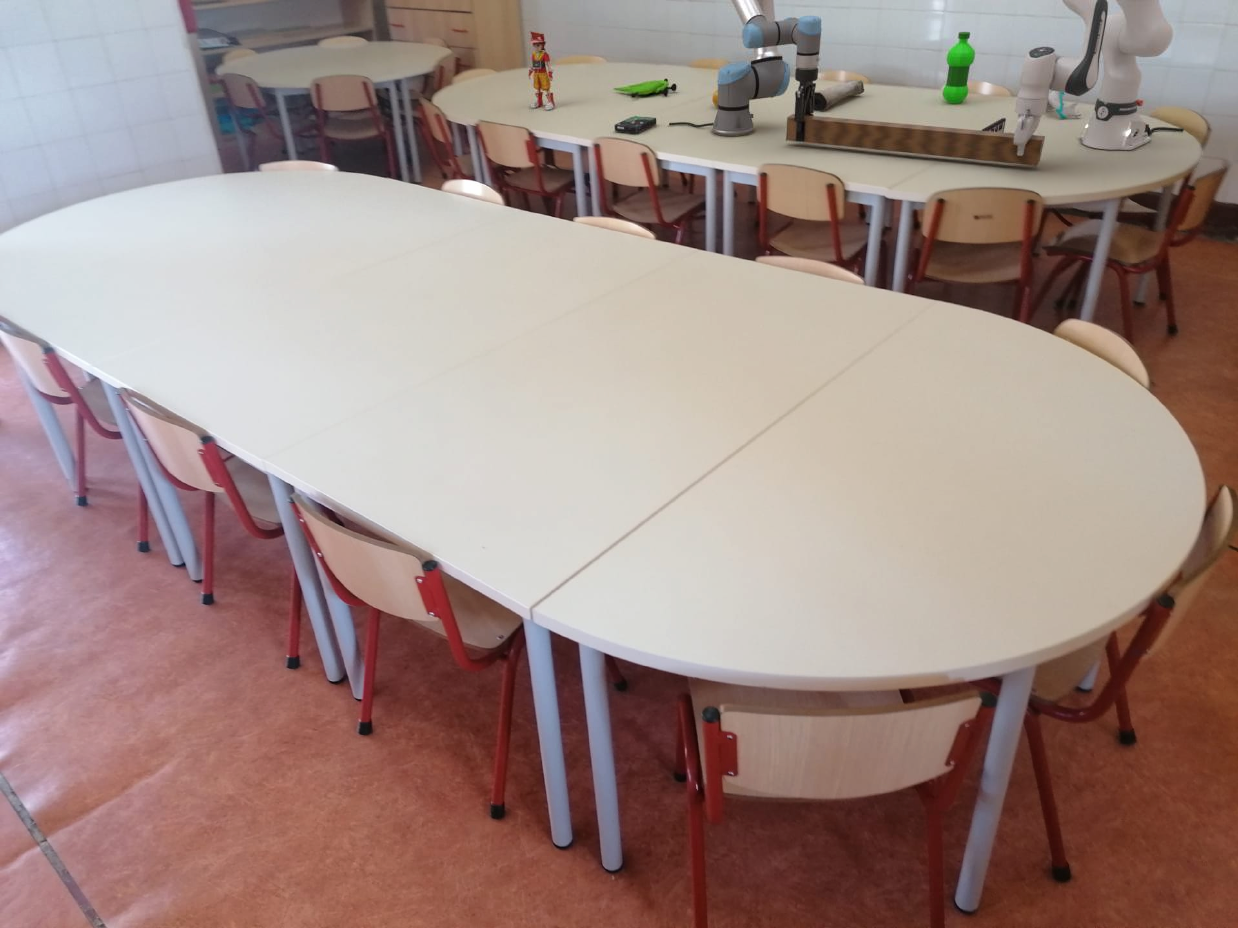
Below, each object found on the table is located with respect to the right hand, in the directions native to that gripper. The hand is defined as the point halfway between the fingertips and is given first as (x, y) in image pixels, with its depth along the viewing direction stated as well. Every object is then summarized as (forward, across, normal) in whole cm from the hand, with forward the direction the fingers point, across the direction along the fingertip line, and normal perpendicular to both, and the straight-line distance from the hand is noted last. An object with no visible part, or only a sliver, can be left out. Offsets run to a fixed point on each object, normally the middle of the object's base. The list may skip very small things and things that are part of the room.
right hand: (1022, 152), depth 281 cm
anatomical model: (+6, +70, 0) cm, 70 cm away
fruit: (+4, +41, +123) cm, 130 cm away
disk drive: (+4, 0, +141) cm, 141 cm away
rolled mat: (+5, +62, +83) cm, 104 cm away
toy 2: (+4, +54, +169) cm, 178 cm away
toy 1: (+4, +17, +196) cm, 197 cm away
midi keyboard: (+5, +30, +15) cm, 33 cm away
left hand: (+2, 0, +73) cm, 73 cm away
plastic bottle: (+5, +77, +39) cm, 87 cm away
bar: (+3, 0, +36) cm, 36 cm away
